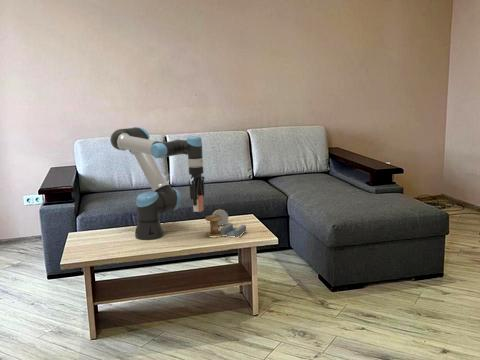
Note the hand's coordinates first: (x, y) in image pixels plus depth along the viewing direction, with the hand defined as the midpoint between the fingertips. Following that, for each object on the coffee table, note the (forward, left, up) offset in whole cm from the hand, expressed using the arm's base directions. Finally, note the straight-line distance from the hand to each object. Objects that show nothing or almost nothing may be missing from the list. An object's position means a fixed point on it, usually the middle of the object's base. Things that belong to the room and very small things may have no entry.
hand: (198, 210), depth 264 cm
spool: (+6, +7, -15) cm, 18 cm away
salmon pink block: (0, 0, 0) cm, 0 cm away
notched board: (+15, +12, -15) cm, 24 cm away
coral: (0, +27, -15) cm, 31 cm away
